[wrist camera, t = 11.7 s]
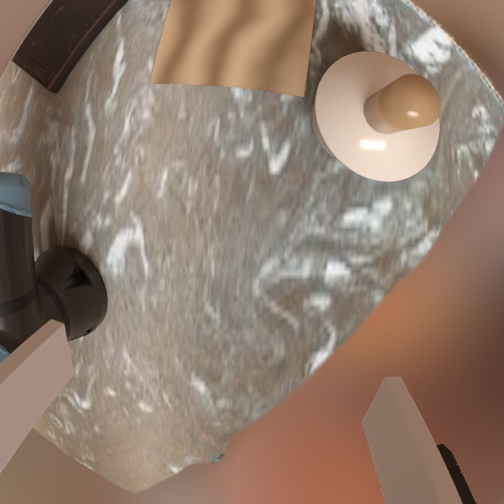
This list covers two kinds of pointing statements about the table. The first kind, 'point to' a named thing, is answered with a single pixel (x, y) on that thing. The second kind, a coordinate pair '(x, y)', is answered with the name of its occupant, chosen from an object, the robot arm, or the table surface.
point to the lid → (377, 116)
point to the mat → (237, 44)
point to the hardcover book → (63, 38)
